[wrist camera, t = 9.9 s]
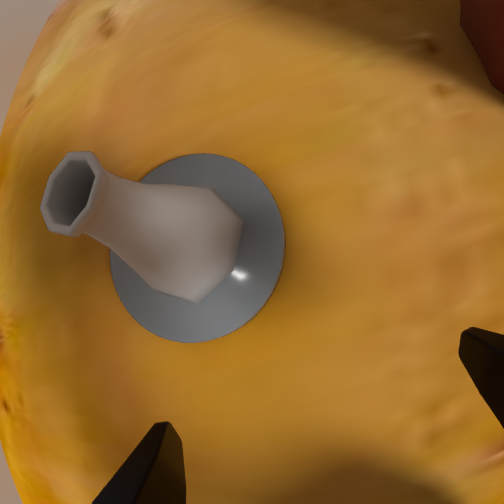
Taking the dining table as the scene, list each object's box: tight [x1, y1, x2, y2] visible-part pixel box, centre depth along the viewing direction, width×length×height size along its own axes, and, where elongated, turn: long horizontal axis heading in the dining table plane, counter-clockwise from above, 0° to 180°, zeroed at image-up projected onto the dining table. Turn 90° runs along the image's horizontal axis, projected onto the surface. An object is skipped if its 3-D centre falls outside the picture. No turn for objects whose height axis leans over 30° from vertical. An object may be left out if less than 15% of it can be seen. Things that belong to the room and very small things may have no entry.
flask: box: [40, 151, 244, 303], centre depth 14 cm, size 7×7×10 cm
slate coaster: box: [110, 154, 286, 343], centre depth 20 cm, size 12×12×1 cm
